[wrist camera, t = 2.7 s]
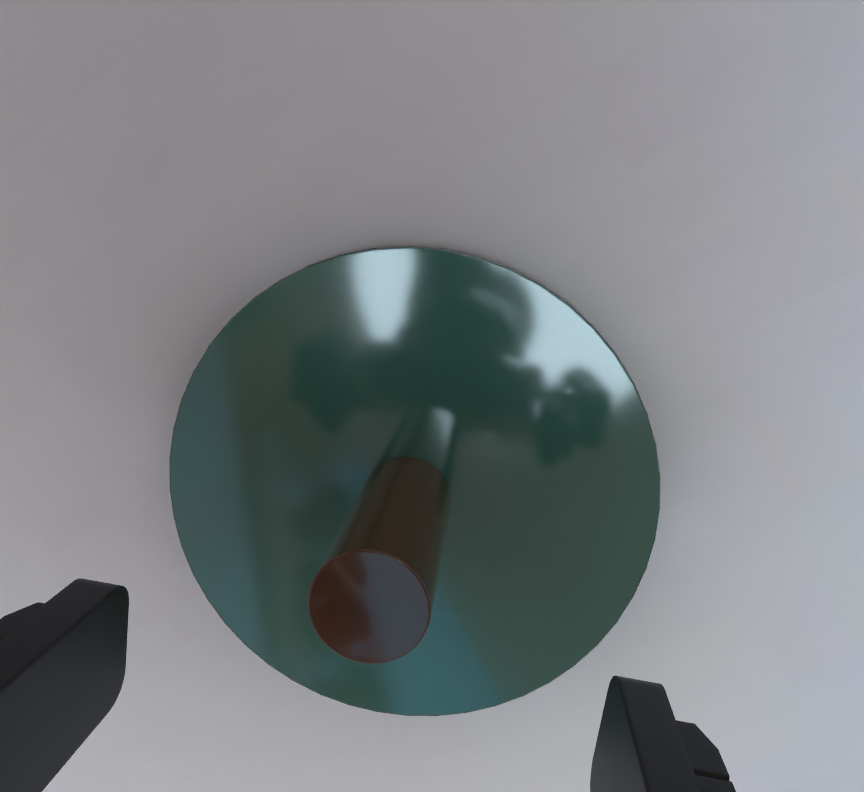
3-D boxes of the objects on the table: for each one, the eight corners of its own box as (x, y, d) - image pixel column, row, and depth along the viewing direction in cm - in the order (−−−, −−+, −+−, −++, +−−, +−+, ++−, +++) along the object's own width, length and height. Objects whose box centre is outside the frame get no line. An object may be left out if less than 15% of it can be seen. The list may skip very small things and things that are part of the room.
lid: (101, 511, 22) (-82, 638, 15) (366, 138, 19) (289, 83, 12) (450, 772, 23) (428, 1005, 16) (756, 455, 20) (894, 574, 13)
